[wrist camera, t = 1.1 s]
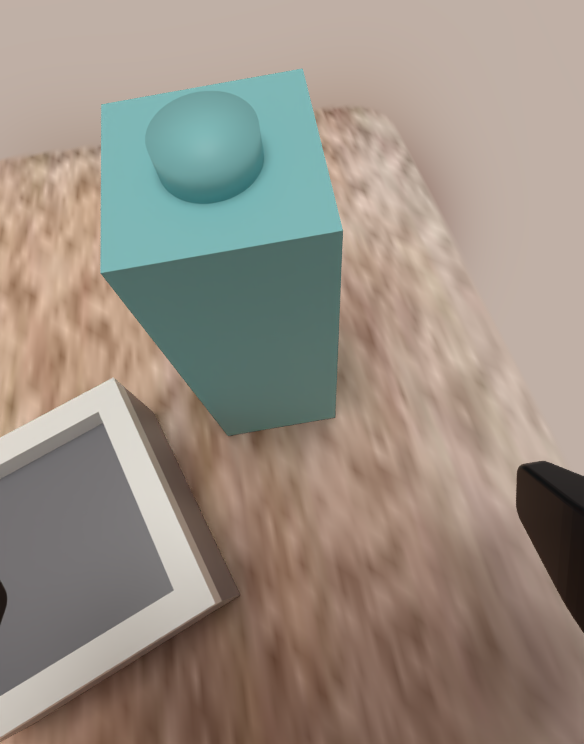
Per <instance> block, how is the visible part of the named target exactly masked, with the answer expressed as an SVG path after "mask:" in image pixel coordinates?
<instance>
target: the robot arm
mask: <svg viewBox="0 0 584 744" xmlns="http://www.w3.org/2000/svg"><path fill="white" fill-rule="evenodd" d="M516 508H517V512H518V516H519V518H520V520H521V522H522V524H523V526H524V528H525V530H526V532H527V534H528V536H529V538H530V539H531V541H532V543H533V545H534V547H535V549H536V551H537V553H538V555H539V557H540V558H541V560H542V562H543V564H544V566H545V568H546V570H547V572H548V574H549V576H550V578H551V579H552V581H553V583H554V585H555V587H556V589H557V591H558V593H559V594H560V596H561V598H562V600H563V602H564V603H565V605H566V607H567V608H568V610H569V611H570V613H571V615H572V616H573V618H574V619H575V621H576V622H577V624H578V625H579V627H580V628H581V630H582V631H583V633H584V476H582V475H579V474H577V473H574V472H572V471H569V470H567V469H564V468H562V467H559V466H557V465H554V464H552V463H549V462H546V461H538V462H532V463H526V464H522V465H521V466H519V467H518V470H517V487H516ZM6 606H7V592H6V590H5V588H4V586H3V584H2V582H1V580H0V625H1V622H2V619H3V616H4V613H5V610H6Z"/></svg>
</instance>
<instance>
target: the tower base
mask: <svg viewBox="0 0 584 744" xmlns="http://www.w3.org/2000/svg"><path fill="white" fill-rule="evenodd" d="M0 580H1V582H2V584H3V586H4V588H5V590H6V592H7V606H6V610H5V613H4V616H3V619H2V622H1V625H0V742H1V741H3V740H5V739H7V738H9V737H10V736H12V735H14V734H16V733H18V732H20V731H22V730H23V729H25V728H27V727H29V726H31V725H33V724H34V723H36V722H37V721H39V720H41V719H42V718H44V717H45V716H47V715H49V714H50V713H52V712H53V711H55V710H57V709H58V708H60V707H61V706H63V705H65V704H66V703H68V702H69V701H71V700H73V699H74V698H76V697H77V696H79V695H81V694H82V693H84V692H85V691H87V690H89V689H90V688H92V687H93V686H95V685H97V684H98V683H100V682H102V681H103V680H105V679H106V678H108V677H110V676H111V675H113V674H114V673H116V672H118V671H119V670H121V669H122V668H124V667H126V666H127V665H129V664H130V663H132V662H134V661H135V660H137V659H138V658H140V657H142V656H143V655H145V654H146V653H148V652H150V651H151V650H153V649H154V648H156V647H158V646H159V645H161V644H162V643H164V642H166V641H167V640H169V639H171V638H172V637H174V636H175V635H177V634H179V633H180V632H182V631H183V630H185V629H187V628H188V627H190V626H191V625H193V624H195V623H196V622H198V621H199V620H201V619H203V618H204V617H206V616H207V615H209V614H211V613H212V612H214V611H215V610H217V609H219V608H220V607H222V606H223V605H225V604H227V603H228V602H230V601H231V600H233V599H235V598H236V597H238V596H239V595H240V593H239V591H238V589H237V587H236V585H235V583H234V581H233V579H232V576H231V574H230V572H229V570H228V568H227V566H226V564H225V562H224V560H223V557H222V555H221V553H220V551H219V549H218V547H217V545H216V543H215V541H214V539H213V536H212V534H211V532H210V530H209V528H208V526H207V524H206V522H205V520H204V517H203V515H202V513H201V511H200V509H199V507H198V505H197V503H196V501H195V499H194V496H193V494H192V492H191V490H190V488H189V486H188V484H187V482H186V480H185V478H184V475H183V473H182V471H181V469H180V467H179V465H178V463H177V461H176V459H175V456H174V454H173V452H172V450H171V448H170V446H169V444H168V442H167V440H166V438H165V435H164V433H163V431H162V429H161V427H160V425H159V423H158V421H157V419H156V416H155V414H154V412H152V411H151V410H150V409H149V408H148V407H147V406H145V405H144V404H143V403H142V402H141V401H140V400H139V399H137V398H136V397H135V396H134V395H133V394H132V393H130V392H129V391H128V390H127V389H126V388H125V387H124V386H122V385H121V384H120V383H119V382H118V381H117V380H116V379H114V378H111V379H110V380H108V381H106V382H104V383H102V384H100V385H98V386H96V387H95V388H93V389H91V390H89V391H87V392H85V393H83V394H81V395H80V396H78V397H76V398H74V399H72V400H70V401H68V402H66V403H64V404H63V405H61V406H59V407H57V408H55V409H53V410H51V411H49V412H48V413H46V414H44V415H42V416H40V417H38V418H36V419H34V420H33V421H31V422H29V423H27V424H25V425H23V426H21V427H19V428H17V429H16V430H14V431H12V432H10V433H8V434H6V435H4V436H2V437H1V438H0Z"/></svg>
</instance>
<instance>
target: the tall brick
mask: <svg viewBox="0 0 584 744" xmlns="http://www.w3.org/2000/svg"><path fill="white" fill-rule="evenodd" d="M101 111H102V112H101V113H102V114H101V274H102V276H103V277H104V278H105V279H106V281H107V282H108V283H109V285H110V286H111V287H112V288H113V290H114V291H115V292H116V294H117V295H118V296H119V297H120V299H121V300H122V301H123V302H124V304H125V305H126V306H127V308H128V309H129V310H130V311H131V313H132V314H133V315H134V317H135V318H136V319H137V320H138V322H139V323H140V324H141V325H142V327H143V328H144V329H145V331H146V332H147V333H148V334H149V336H150V337H151V338H152V339H153V341H154V342H155V343H156V345H157V346H158V347H159V348H160V350H161V351H162V352H163V354H164V355H165V356H166V357H167V359H168V360H169V361H170V362H171V364H172V365H173V366H174V368H175V369H176V370H177V371H178V373H179V374H180V375H181V377H182V378H183V379H184V380H185V382H186V383H187V384H188V385H189V387H190V388H191V389H192V391H193V392H194V393H195V394H196V396H197V397H198V398H199V400H200V401H201V402H202V403H203V405H204V406H205V407H206V408H207V410H208V411H209V412H210V414H211V415H212V416H213V417H214V419H215V420H216V421H217V422H218V424H219V425H220V426H221V428H222V429H223V430H224V431H225V433H226V434H227V435H228V436H230V435H236V434H242V433H248V432H254V431H259V430H265V429H271V428H277V427H283V426H288V425H294V424H300V423H306V422H312V421H317V420H323V419H329V418H335V409H336V385H337V361H338V337H339V313H340V288H341V264H342V240H343V229H342V225H341V221H340V217H339V213H338V209H337V205H336V201H335V197H334V193H333V189H332V185H331V181H330V177H329V173H328V169H327V165H326V161H325V157H324V153H323V149H322V145H321V141H320V137H319V132H318V128H317V124H316V120H315V116H314V112H313V108H312V104H311V100H310V96H309V92H308V88H307V84H306V81H305V77H304V72H303V69H297V70H292V71H286V72H281V73H275V74H269V75H264V76H258V77H253V78H247V79H241V80H236V81H230V82H225V83H219V84H213V85H208V86H202V87H197V88H191V89H186V90H180V91H174V92H168V93H163V94H157V95H152V96H146V97H140V98H135V99H130V100H124V101H118V102H113V103H107V104H102V105H101Z"/></svg>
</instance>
